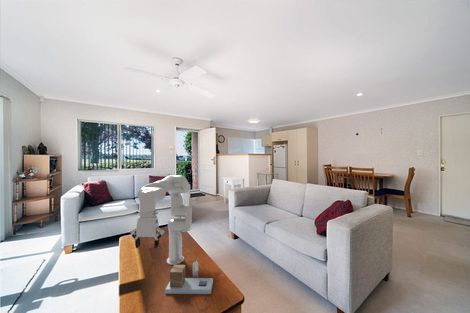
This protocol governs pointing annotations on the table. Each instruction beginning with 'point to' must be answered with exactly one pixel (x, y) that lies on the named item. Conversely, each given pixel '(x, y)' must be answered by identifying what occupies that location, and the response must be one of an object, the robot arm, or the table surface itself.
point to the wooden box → (177, 276)
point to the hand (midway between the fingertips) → (147, 247)
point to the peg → (195, 269)
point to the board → (192, 286)
